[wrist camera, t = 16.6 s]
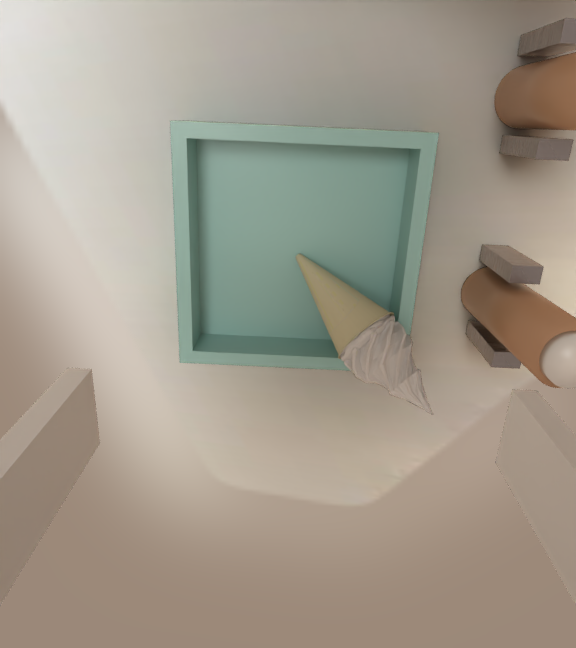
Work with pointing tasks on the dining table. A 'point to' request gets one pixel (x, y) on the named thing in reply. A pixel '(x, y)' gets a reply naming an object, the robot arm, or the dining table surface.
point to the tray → (291, 233)
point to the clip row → (505, 258)
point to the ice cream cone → (365, 335)
